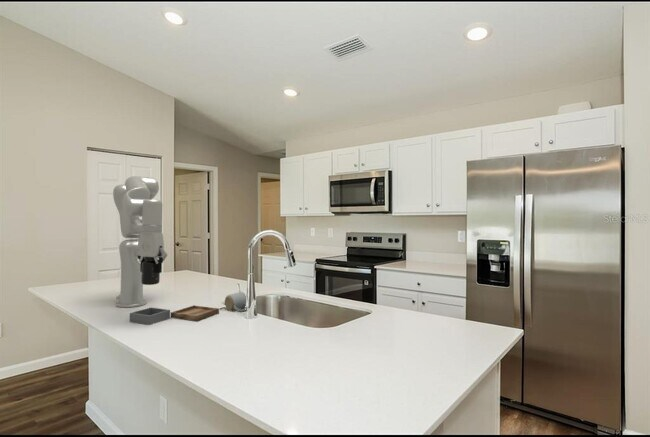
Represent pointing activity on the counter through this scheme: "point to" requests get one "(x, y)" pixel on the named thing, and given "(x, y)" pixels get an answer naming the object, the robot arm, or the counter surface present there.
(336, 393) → the counter surface
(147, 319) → the gray open box
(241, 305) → the ceramic mug
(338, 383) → the counter surface
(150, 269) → the supplement bottle
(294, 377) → the counter surface
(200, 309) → the walnut tray
